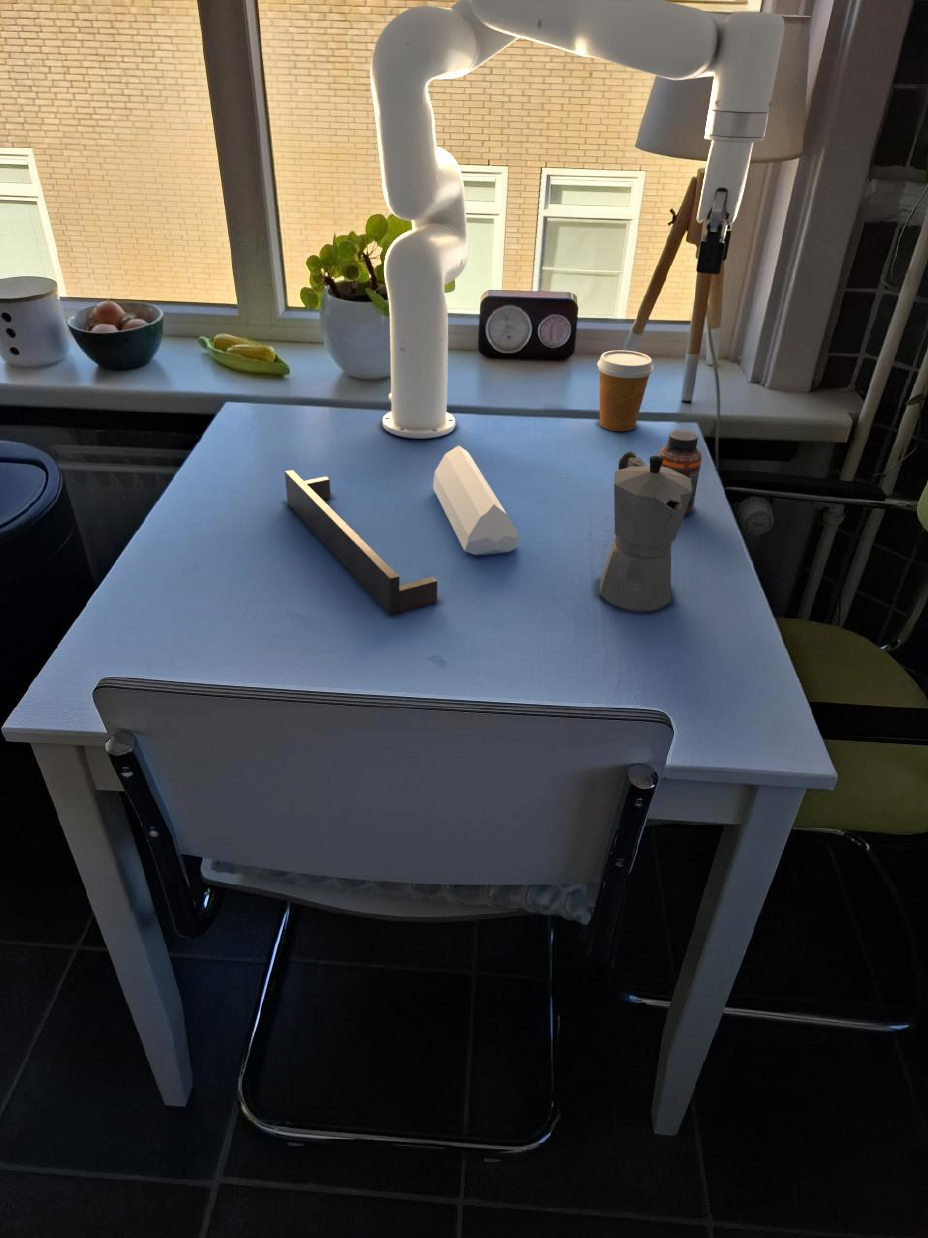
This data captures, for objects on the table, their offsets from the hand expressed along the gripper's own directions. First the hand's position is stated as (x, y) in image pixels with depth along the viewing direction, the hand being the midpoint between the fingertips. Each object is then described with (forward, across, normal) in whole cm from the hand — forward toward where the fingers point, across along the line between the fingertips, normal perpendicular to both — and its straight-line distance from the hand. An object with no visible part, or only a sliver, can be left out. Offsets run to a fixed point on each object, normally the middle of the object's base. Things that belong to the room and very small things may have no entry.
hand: (711, 265), depth 123 cm
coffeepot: (+31, +40, 0) cm, 50 cm away
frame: (+31, +43, -36) cm, 64 cm away
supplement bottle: (+31, +15, +1) cm, 34 cm away
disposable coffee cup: (+31, -16, -12) cm, 37 cm away
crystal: (+31, +29, -24) cm, 49 cm away
